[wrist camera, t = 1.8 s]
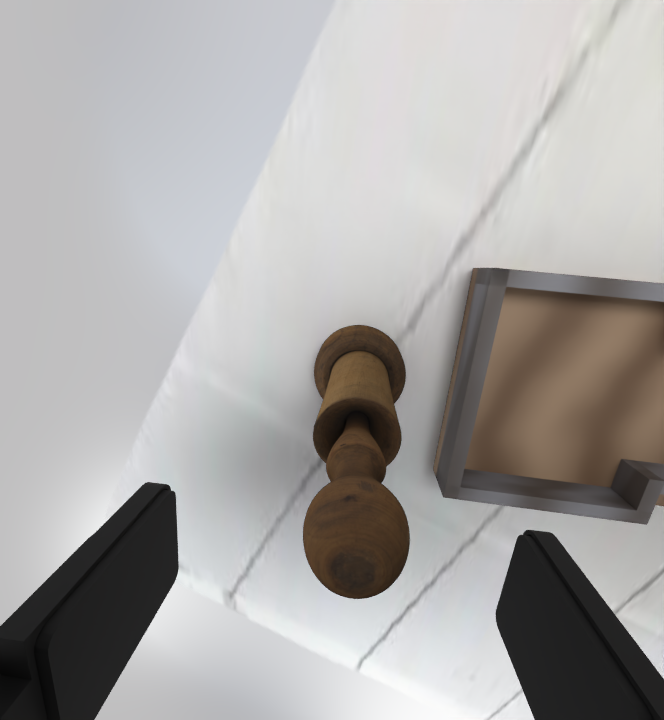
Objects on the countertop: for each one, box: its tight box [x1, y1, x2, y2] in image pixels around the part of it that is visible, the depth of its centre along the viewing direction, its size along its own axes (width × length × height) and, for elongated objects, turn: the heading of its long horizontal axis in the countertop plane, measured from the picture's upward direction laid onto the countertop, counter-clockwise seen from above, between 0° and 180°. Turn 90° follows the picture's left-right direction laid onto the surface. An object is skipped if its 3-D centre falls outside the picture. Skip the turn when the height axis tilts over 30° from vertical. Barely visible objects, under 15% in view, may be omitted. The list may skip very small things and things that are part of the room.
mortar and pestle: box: [303, 325, 410, 599], centre depth 17 cm, size 7×6×18 cm
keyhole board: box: [433, 268, 664, 525], centre depth 22 cm, size 24×16×4 cm, turn 85°
